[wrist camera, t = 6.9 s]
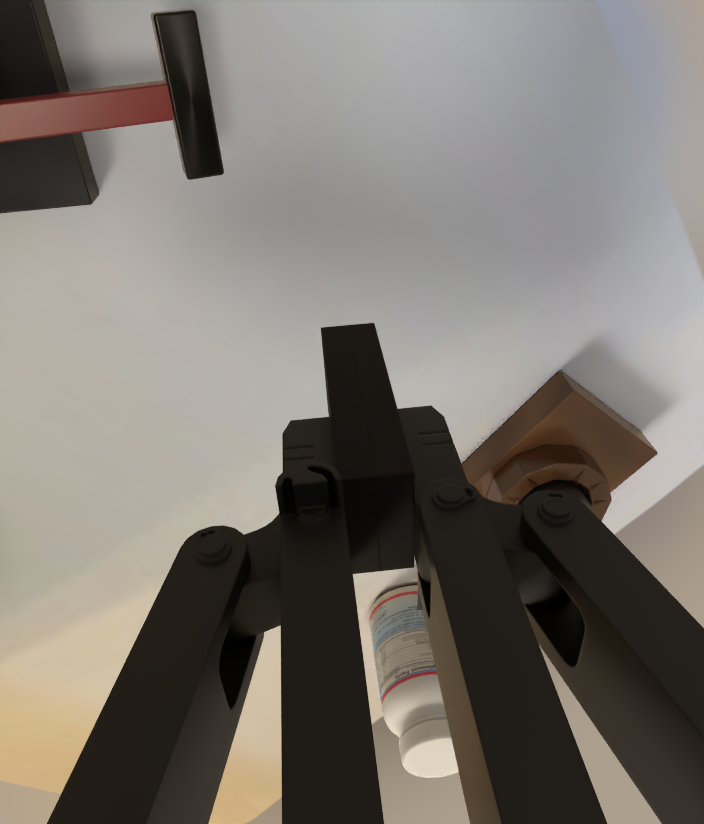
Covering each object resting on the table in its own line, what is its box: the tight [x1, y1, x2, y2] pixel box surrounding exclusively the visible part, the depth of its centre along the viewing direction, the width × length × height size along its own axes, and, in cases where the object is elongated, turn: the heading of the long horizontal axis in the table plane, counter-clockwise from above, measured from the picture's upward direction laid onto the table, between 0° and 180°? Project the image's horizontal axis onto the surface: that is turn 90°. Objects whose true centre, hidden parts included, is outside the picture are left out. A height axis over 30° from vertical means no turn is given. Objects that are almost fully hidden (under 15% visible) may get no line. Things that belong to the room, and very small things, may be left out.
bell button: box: [519, 480, 595, 514], centre depth 38 cm, size 4×4×2 cm
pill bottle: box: [369, 585, 459, 778], centre depth 44 cm, size 6×6×11 cm
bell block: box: [462, 371, 657, 521], centre depth 40 cm, size 12×8×4 cm, turn 142°
